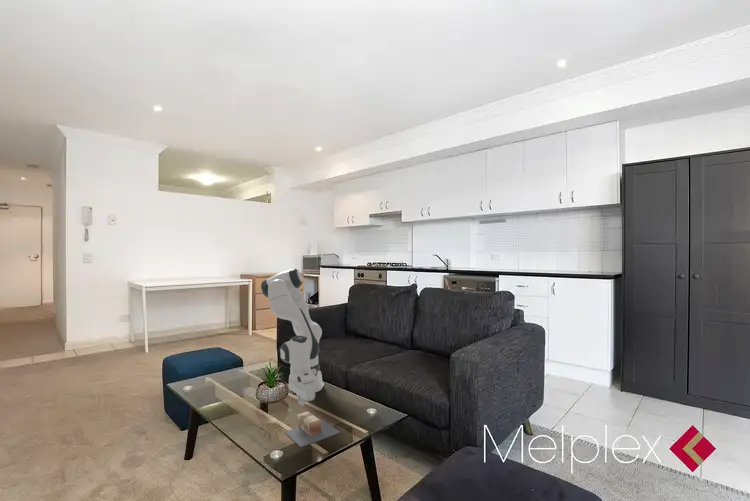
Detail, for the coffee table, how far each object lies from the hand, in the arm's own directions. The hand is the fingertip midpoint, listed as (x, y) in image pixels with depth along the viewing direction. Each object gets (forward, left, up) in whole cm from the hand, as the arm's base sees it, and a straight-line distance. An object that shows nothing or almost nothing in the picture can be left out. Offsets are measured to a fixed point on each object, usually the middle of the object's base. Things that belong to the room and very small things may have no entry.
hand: (301, 404), depth 162 cm
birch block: (0, 0, -6) cm, 6 cm away
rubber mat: (+9, 0, -9) cm, 13 cm away
